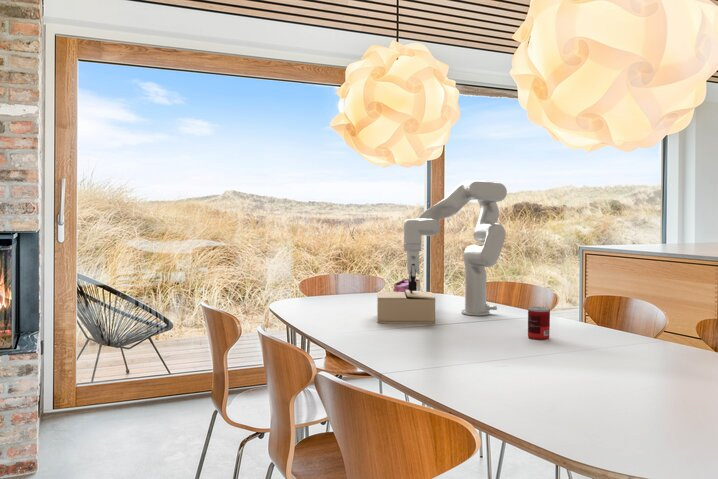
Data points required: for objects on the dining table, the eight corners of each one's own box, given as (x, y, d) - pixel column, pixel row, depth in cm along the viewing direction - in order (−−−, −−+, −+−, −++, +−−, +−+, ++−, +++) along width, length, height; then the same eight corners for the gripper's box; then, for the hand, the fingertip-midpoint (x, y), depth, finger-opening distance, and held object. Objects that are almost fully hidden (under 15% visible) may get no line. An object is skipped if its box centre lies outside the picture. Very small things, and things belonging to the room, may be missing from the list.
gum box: (409, 314, 258) (409, 285, 257) (392, 313, 260) (392, 284, 260) (420, 306, 281) (420, 279, 280) (404, 305, 283) (404, 278, 282)
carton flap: (431, 293, 254) (432, 279, 254) (435, 299, 237) (436, 284, 236) (405, 291, 254) (406, 277, 254) (407, 296, 237) (408, 281, 237)
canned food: (548, 336, 212) (549, 307, 211) (550, 340, 204) (550, 310, 203) (527, 335, 214) (527, 306, 213) (527, 339, 206) (528, 309, 206)
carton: (430, 315, 255) (431, 292, 254) (435, 323, 237) (435, 297, 236) (377, 315, 255) (377, 291, 255) (377, 323, 237) (377, 297, 237)
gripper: (422, 248, 236) (422, 292, 237) (419, 246, 253) (419, 287, 253) (404, 248, 236) (404, 292, 237) (403, 246, 253) (402, 287, 254)
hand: (412, 289), depth 245 cm, fingers closed on carton flap, 3 cm apart
